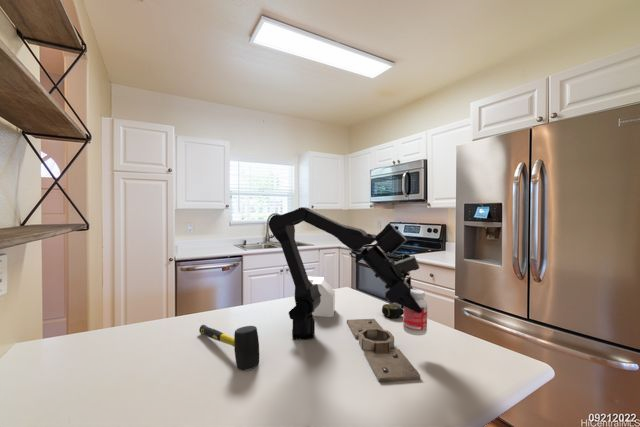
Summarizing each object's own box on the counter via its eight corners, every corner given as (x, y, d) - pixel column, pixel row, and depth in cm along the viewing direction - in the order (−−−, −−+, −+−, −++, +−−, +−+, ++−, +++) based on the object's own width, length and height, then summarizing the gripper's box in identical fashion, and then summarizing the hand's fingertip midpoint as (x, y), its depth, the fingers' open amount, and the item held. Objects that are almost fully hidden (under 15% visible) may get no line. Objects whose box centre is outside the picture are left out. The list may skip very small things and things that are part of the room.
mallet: (192, 337, 85) (192, 306, 84) (211, 331, 89) (211, 301, 89) (243, 376, 65) (243, 336, 65) (264, 366, 69) (264, 328, 69)
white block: (308, 305, 113) (308, 276, 113) (335, 306, 111) (335, 277, 111) (302, 315, 102) (303, 283, 102) (332, 317, 101) (333, 284, 101)
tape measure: (404, 317, 101) (404, 307, 101) (390, 320, 98) (390, 310, 98) (391, 311, 107) (391, 302, 107) (378, 314, 104) (378, 304, 104)
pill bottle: (427, 337, 71) (428, 295, 71) (403, 334, 73) (403, 293, 73) (425, 328, 77) (426, 289, 77) (403, 325, 79) (404, 286, 79)
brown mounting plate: (420, 379, 64) (420, 366, 64) (379, 382, 63) (379, 369, 63) (374, 321, 97) (374, 313, 97) (346, 322, 96) (346, 314, 96)
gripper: (400, 250, 67) (448, 300, 64) (402, 241, 85) (440, 280, 81) (367, 278, 70) (411, 328, 66) (376, 265, 87) (412, 303, 84)
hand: (420, 307), depth 74 cm, fingers closed on pill bottle, 6 cm apart
